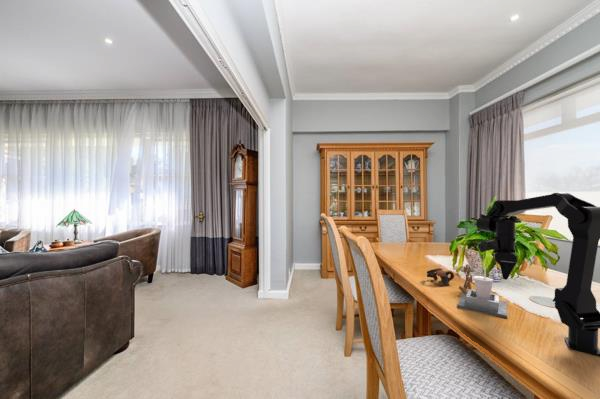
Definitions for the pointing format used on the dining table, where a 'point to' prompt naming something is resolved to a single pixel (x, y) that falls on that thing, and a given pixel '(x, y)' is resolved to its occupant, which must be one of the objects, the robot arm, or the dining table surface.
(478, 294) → the smoothie
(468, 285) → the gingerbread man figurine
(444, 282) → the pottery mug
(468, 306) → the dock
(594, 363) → the dining table surface
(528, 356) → the dining table surface
